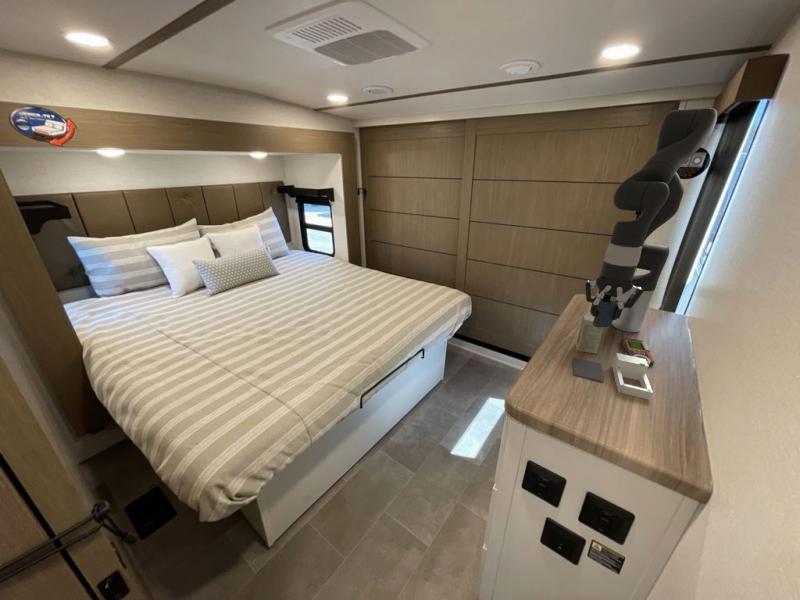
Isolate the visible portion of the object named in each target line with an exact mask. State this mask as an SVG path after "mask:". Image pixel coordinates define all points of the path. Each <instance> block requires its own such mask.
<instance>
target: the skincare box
mask: <svg viewBox="0 0 800 600" xmlns="http://www.w3.org/2000/svg"><path fill="white" fill-rule="evenodd" d="M593 321H594V316H592V315H590V314H589V315H587V314H582V319H581V323H580V326H579V331H578V335H577V339H576V343H575V347H576V351H580V352H583V353H584V352H585V353H589V354H590V353H591V354H595V355H596V354H597V353H598V350H599V346H600V343H601V338H602V335H603V333H604V328H605V327H602V328H598V327H595V326H594V325H593Z"/></svg>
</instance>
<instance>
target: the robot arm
mask: <svg viewBox="0 0 800 600" xmlns="http://www.w3.org/2000/svg"><path fill="white" fill-rule="evenodd" d="M717 120H718V111H717V110H716V109H715V108H713V107H711V108H710V107H700V108H699V107H698V108H686V109H675V110H672V111H669V112H668V113H667V115H666V116H665V117H664V119H663V121H662V124H661V126H660V131H659V134H658V139H657V144H656V149H655V153H654V154H653V155H652V156H651V157H650V158H649V159H648V160H647V162H646V163H645V164H644V165H643V167H642V168H641V169H640V170H639V171H637V172H636V173H634V174H633V175H631V176H630V177H628V178H627V179H625V180H624V181H623V182H622V183H621V184H620V185H619V186H618V188H617V189H616V191H615V193H614V195H613V205H614V206H615V207H616V208H617V209H618V210H622V211H630V212H640V216H639V217H638V218H634V219H624V220H619V221H617V222H616V223H615V225H614V229H613V231H612V234H611V238H610V242H609V245H608V247H607V248H606V251H605V256H604V257H603V263H602V266H601V269H600V273H599V276H598V278H596V280H589V279H586V280H585V281H584V287H585V298H586V302H587V303H591V307H590V310H589V312H590V315H591V316H594V317H595V315H596V312H597V308H598V304H599V302H600V300H601V299H603V296H605V294H604V292H608V291H609V290H610V292H612V296H611V298H616V300H617V307H616V311H615V314H614V317H613V322H612V325H611V326H612V327H614V328H616V329H617V330H620V331H622V332H623V331H624V332H627V333H638V332H641V331H640V330H641V329H642V326H643V324H644V320H645V317H646V315H647V312H648V309H649V306H650V303H651V301H652V298H653V296H654V293H655V291H656V288H657V285H658V281H659V280H660V279H659V278H660V276H661V274H662V271H663V270H664V268H665V265H666V263H667V261H668V258H669V255H670V248H669V246H666V245H662V244H660V245H659V244H654V243H646V240H647V239H648V238H649V236H651V234H653V233H654V232H655V231H656V230H657V229H659V228H660V227H661V226H662V225H664V224H666V223H667V222H668V221H670V220H671V219H672V218H673V217H674V216H675V215H676V214H677V212H678V211H679V209H680V205H681V203H682V199H683V196H684V194H685V193H684V192H685V187H684V185H683V182H682V180H681V178H680V176H679V174H678V170H679V169H680V167H681V166H682V165H683V164H684V163H685V162H686V161H688V159H690V158H691V157H692V156H693V155H694V154H695V153H696V152H697V151H698V150H700V148H701V147H702V146H703V145H704V144H705V143H706V142H707V141H708V139H709V138H710V136H711V135H712V133H713V130H714V129H715V127H716V124H717ZM637 269H639V270H645V271H649V272H648V273H644V274H639V275H636V274H635V273H636V270H637ZM595 286H597V288H598V290H597V292H596V294H595V296H594V297H593V296H592V289H593V288H594V287H595Z"/></svg>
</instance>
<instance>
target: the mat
mask: <svg viewBox="0 0 800 600" xmlns="http://www.w3.org/2000/svg"><path fill="white" fill-rule="evenodd" d="M572 370H573V374H572V375H573V376H575V377H579V378H584V379H588V380H590V381H591V380H592V381H596V382H600V383H604V382H605V379H604V374H603V369H602V363H600V362H596V361H593V360H587V359H583V358H579V357H574V356H573V357H572Z"/></svg>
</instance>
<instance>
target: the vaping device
mask: <svg viewBox="0 0 800 600" xmlns="http://www.w3.org/2000/svg"><path fill="white" fill-rule="evenodd" d="M604 294H605V296H603V299H601V300H600V302H599V303H598V308H597V312H596V315H595V317H594V321H593V325H594V326H595V327H598V328H602V327H604V328H611V326H613V325H612V322H613V317H614V314H615V311H616V307H617V299H613V298H612V292H610V290H609V291H608V292H604Z"/></svg>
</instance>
